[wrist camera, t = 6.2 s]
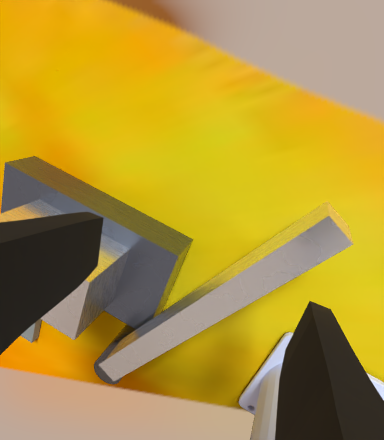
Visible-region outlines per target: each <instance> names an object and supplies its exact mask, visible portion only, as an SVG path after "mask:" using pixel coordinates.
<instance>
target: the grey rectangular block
mask: <svg viewBox="0 0 384 440" xmlns="http://www.w3.org/2000/svg"><path fill="white" fill-rule="evenodd" d="M61 214H65V213H63V212H62V211H60V210H58V209H56V208H54V207H53V206H51V205H49V204H47V203H45V202H44V201H42V200H40V199H39V200H36V201H33V202H31V203H28V204H25V205H23V206H20V207H17V208H15V209H12V210H9V211H7V212H4V213H1V214H0V222H8V221H17V220H25V219H33V218H40V217H47V216H54V215H61ZM129 250H130V249H129V248H127V247H125V246H123V245H121V244H120V243H118V242H116V241H114V240H112V239H111V238H109V237H107V236H105V235H103V234H102V235H101V243H100V251H99V259H98V266H97V267H96V268H95V270H94V271H93V272H92V273H91V274H90V275H89V276H88V277H87V279H86V280H85V281H84V282H83V283H82V284H81V285H80V286H79V287H78V288H77V289H75V290H74V291H73V292H72V293H71V294H69V295H68V296H67V297H66V298H65V299H63V300H62V301H61V302H60V303H59V304H57V305H56V306H55V307H54V308H53V309H51V310H50V311H49V312H48V313H46V314H45V315H44V316H43V317H42V318H40V319H42V320H43V321H45V322H46V323H48V324H50V325H51V326H53V327H54V328H56V329H57V330H59V331H61V332H62V333H64V334H65V335H67V336H69V337H70V338H72V339H73V340H75V339H76V338H77V337H78V336H79V335H80V334H81V333H82V332H83V331H84V330H85V329H86V328H87V327H88V326H89V325H90V324H91V323H92V322H93V321H94V320H95V319H96V318H97V317H98V316H99V315H100V314H101V313H102V312H103V311H104V310H105V309H106V308H107V307H108V306H109V305H110V304H111V303H112V302H113V300H114V297H115V294H116V291H117V287H118V284H119V281H120V278H121V275H122V272H123V269H124V266H125V263H126V259H127V256H128V253H129Z"/></svg>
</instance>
